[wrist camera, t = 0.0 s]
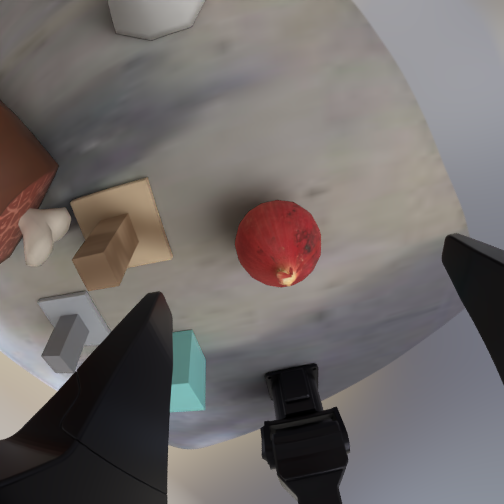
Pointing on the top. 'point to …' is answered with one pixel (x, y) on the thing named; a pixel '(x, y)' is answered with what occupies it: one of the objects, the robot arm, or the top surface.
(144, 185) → the tan wooden stamp
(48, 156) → the meat
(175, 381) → the turquoise block
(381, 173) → the top surface
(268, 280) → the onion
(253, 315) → the top surface
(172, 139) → the top surface
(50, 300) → the light grey base plate
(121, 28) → the flask
